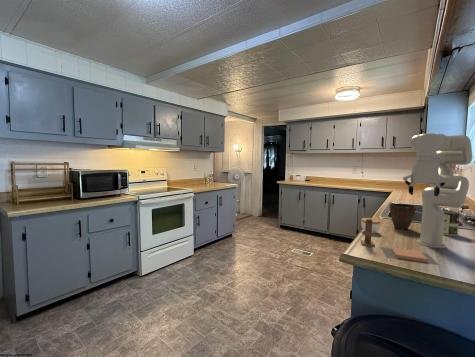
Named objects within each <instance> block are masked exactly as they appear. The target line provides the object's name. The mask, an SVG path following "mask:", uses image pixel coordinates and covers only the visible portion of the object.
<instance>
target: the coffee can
mask: <svg viewBox="0 0 475 357" xmlns="http://www.w3.org/2000/svg"><path fill="white" fill-rule="evenodd" d="M442 210H443V209H442ZM443 212H444V214H445V218H444V229H443V236H444V235H446V236H450V237H451V236H453V237H457V236H458V233H459V232H458V230H459V224H460V223H459V221H460V214H461V213H460V212H458V211H452V210H445V209H444V210H443Z"/></svg>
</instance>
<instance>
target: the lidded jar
mask: <svg viewBox="0 0 475 357" xmlns="http://www.w3.org/2000/svg"><path fill="white" fill-rule="evenodd" d="M366 219H371V220H372V234H375V233H376V232H378V231H379V230H380V225H381V220H379V219H377V218H373V217H371V216H370V217H363V218H361V219H360V221H361V222H360V224H361V228H362V230H363V231H364V232H365V227H366Z"/></svg>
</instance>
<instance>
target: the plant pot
mask: <svg viewBox="0 0 475 357" xmlns="http://www.w3.org/2000/svg"><path fill="white" fill-rule="evenodd" d="M416 210H417V206H415V205H411V204H408V203H405V204H404V203H389V212H390V218H391V222H392V225H393V227H394V228H395V229H396V228H398V229H397V230H400V229H408V230H409V229H410V226H411V224H412V222H413V219H414V217H415V213H416Z"/></svg>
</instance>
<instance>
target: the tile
mask: <svg viewBox="0 0 475 357" xmlns="http://www.w3.org/2000/svg"><path fill="white" fill-rule="evenodd" d="M390 248H391V251H392V253H393V254H394V256H395V257H396V258H401V259H408V260H414V261H421V262H428V259H427V258H426V257H425V256H424V255H423V254H422V253H423V252H421V251H420V250H414V249H407V248H402V247H401V248H399V247H393V246H391V247H390ZM401 259H400V260H401ZM408 260H407V261H408ZM414 261H413V262H414ZM421 262H420V263H421Z"/></svg>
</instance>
